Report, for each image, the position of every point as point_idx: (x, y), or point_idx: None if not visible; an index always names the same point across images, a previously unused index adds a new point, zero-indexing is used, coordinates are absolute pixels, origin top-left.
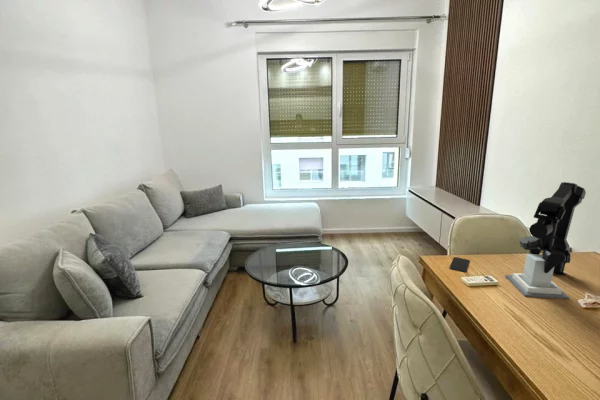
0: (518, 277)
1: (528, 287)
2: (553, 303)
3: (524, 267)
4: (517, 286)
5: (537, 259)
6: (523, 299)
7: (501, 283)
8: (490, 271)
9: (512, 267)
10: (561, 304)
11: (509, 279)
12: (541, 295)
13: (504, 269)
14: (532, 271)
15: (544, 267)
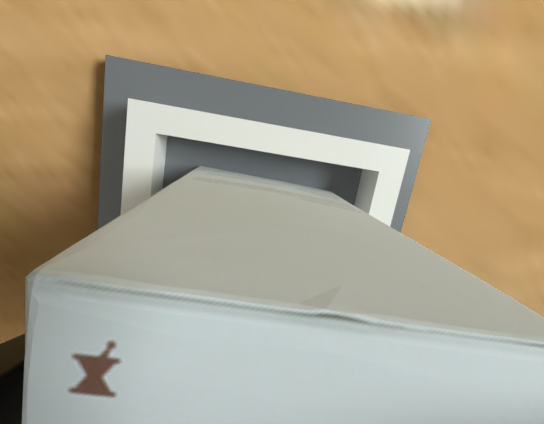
0: (328, 146)
1: (137, 107)
2: (25, 213)
3: (380, 222)
4: (241, 87)
5: (151, 403)
6: (59, 12)
7: (323, 3)
8: (521, 50)
9: (533, 270)
10: (19, 258)
11: (363, 106)
12: (100, 186)
13: (522, 192)
14: (184, 194)
15: (11, 360)
